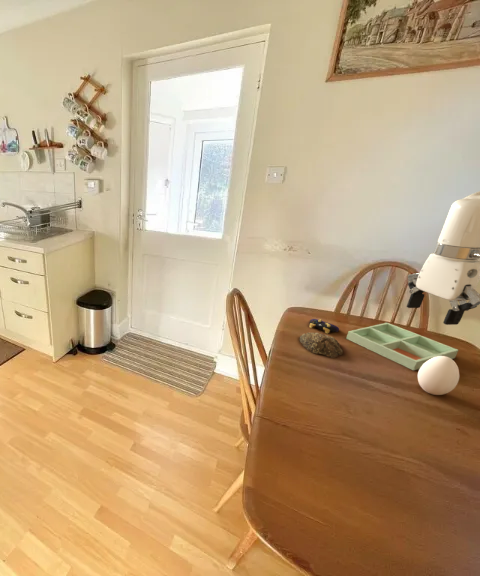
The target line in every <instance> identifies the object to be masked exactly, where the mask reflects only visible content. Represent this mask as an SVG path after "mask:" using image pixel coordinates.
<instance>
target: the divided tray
mask: <svg viewBox="0 0 480 576" xmlns="http://www.w3.org/2000/svg"><path fill="white" fill-rule="evenodd" d="M345 339H346V340H348V341H350V342H352V343H354V344H356V345H359V346H361V347H363V348H365V349H367V350H369V351H371V352H373V353H375V354H377V355H380V356H382V357H384V358H386V359H388V360H390V361H392V362H394V363H396V364H399V365H400V366H403V367H405V368H407V369H409V370H412V371H417V370H420V368H421V366H422V365H423V364H424V363H425V362H426V361H428V360H429V359H431V358H433V357H437V356H446V357H449V358H451V359H452V360H453V359H456V357H457V354H458V352H459V349H457V348H455V347H452V346H449V345H447V344H445V343H441V342H439V341H436V340H434V339H431V338H429V337H426V336H423V335H421V334H418V333H415V332H414V331H411V330H408V329H405V328H404V327H403V328H402V327H400V326H397V325H395V324H392V323H389V322H384V323H379V324H378V323H377V324H375V325H370V326H366V327H361V328H357V329H353V330H349V331H348V332H347V335H346V338H345Z"/></svg>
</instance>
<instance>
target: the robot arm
mask: <svg viewBox="0 0 480 576" xmlns="http://www.w3.org/2000/svg"><path fill="white" fill-rule="evenodd" d="M479 259H480V190H479V191H476V192H473V193H471V194H468V195H467V196H465V197H463V198H460V199H457V200H455V201H454V202H452V204H451V206H450V208H449V211H448V213H447V216H446V218H445V220H444V223H443V226H442V229H441V232H440V234H439V237H438V239H437V242H436V244H435V247H434V250H433V252H432V253H430V254H429V256H428V257H427V258H426V260H425V261H424V263H423V265H422V267H421V269H420V271H419V272H418V273H412V274H408V275H407V281H408V282H407V286H408V288H409V290H408V293H409V294H410V297H409V299H408V301H407V304H406V308H408V309H420V308H421V306H422V304H423V301H424V299H425V296H426V295H425V293H428V294H430V295H433V296H435V297H438V298H440V299H443V300H446V301H449V304H450V306H451V308H449V309H448V310H447V312H446V315H445V317H444V320H443V322H442V323H443V324H444V325H447V326H453V325H455V326H456V325H459V324H460V322H461V320H462V318H463V316H464V313H465V312H469V311H470V310H473V309H475V308H477V307H478V306H479V305H480V293H479V292H478V291H477V287H478V284H479V281H480V260H479Z"/></svg>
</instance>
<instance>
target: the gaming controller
mask: <svg viewBox="0 0 480 576" xmlns="http://www.w3.org/2000/svg"><path fill="white" fill-rule="evenodd" d="M308 325H309V328H311V329H314V328H315V329H317V330H319V331H323V332H324V334H331V333H338V332H339V330H340V327H339V326H337V325H334V324H332V323H330V322H326V321H324V320H322V318H321V319H320V318H319V319H318V318H311V319H310V320H309V324H308Z"/></svg>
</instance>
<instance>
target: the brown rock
mask: <svg viewBox="0 0 480 576" xmlns="http://www.w3.org/2000/svg"><path fill="white" fill-rule="evenodd" d="M299 342H300V344H301V346H303V347H304V348H305V349H306V350H307V351H309V352H311V353H313V354H315V355H322V356H325V357H327V358H337V357H338V356H342V355H343V349H342V348H341V346H340V342H338V340H337V339H336V338H335V337H333V336H329V335H328V334H327V335H326V334H324V333H320V332H306V333H303V334H300V336H299Z"/></svg>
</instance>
